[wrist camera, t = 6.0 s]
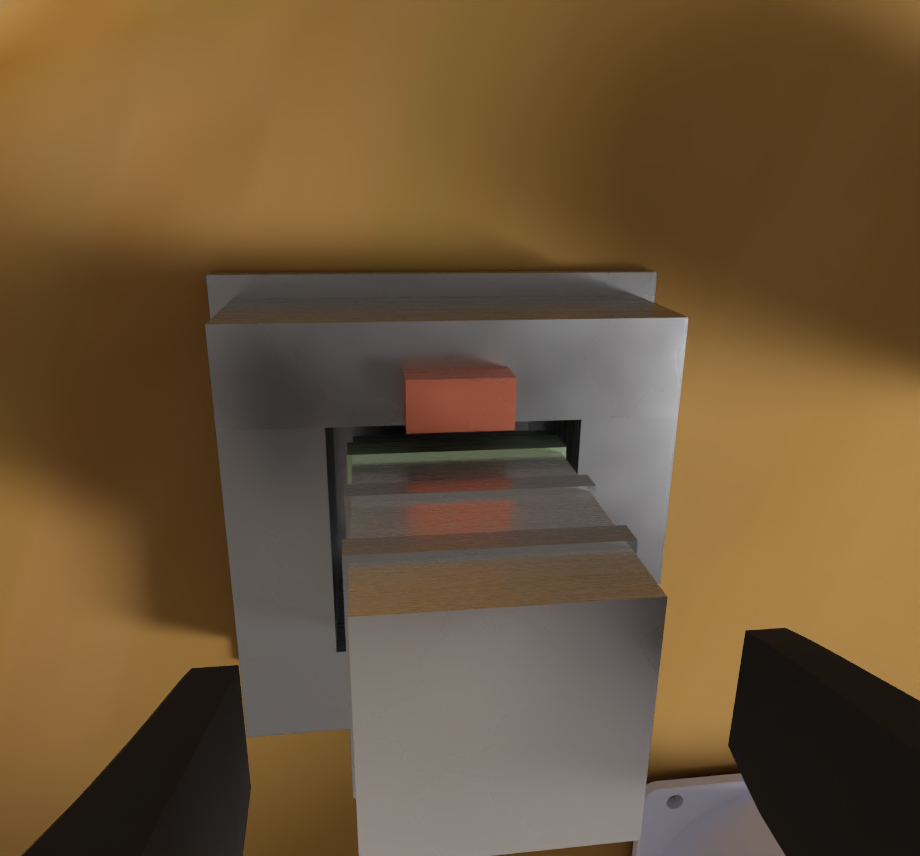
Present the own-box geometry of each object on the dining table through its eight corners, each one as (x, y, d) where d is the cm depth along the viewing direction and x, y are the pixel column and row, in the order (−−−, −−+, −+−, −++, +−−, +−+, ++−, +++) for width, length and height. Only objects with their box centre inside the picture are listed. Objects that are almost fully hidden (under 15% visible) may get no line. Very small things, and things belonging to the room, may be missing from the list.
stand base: (650, 270, 17) (736, 297, 13) (617, 635, 21) (679, 745, 17) (209, 272, 16) (160, 303, 12) (247, 661, 19) (218, 786, 15)
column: (549, 425, 16) (675, 589, 9) (541, 599, 17) (646, 845, 11) (347, 431, 15) (339, 609, 9) (355, 611, 16) (352, 875, 10)
